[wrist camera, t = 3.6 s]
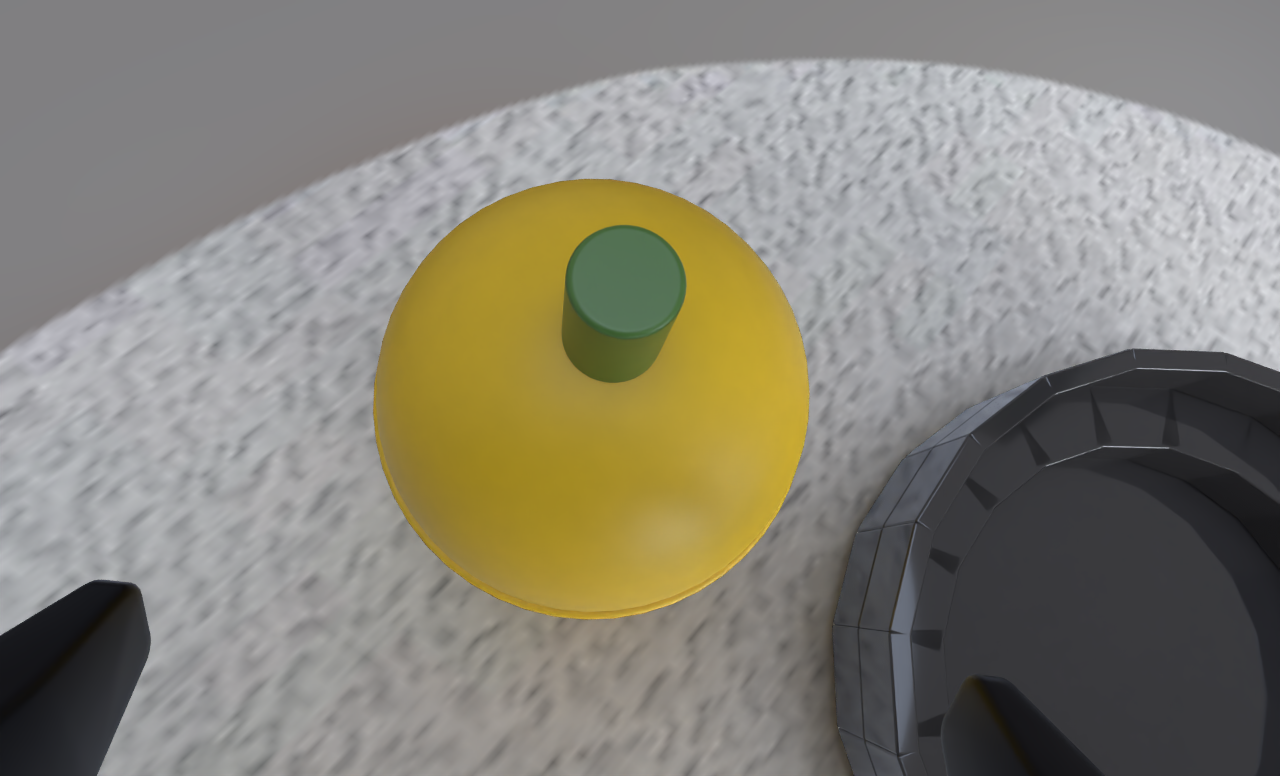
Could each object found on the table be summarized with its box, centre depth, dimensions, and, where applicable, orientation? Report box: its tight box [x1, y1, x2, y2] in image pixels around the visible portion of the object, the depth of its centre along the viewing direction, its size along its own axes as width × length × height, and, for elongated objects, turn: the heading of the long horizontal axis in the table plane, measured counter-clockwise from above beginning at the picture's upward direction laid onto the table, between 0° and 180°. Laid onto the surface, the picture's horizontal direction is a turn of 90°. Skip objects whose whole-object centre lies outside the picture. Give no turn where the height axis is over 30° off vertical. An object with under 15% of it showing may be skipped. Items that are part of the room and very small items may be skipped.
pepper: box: [373, 179, 809, 620], centre depth 14 cm, size 6×6×14 cm
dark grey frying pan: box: [832, 349, 1280, 776], centre depth 19 cm, size 15×15×4 cm
